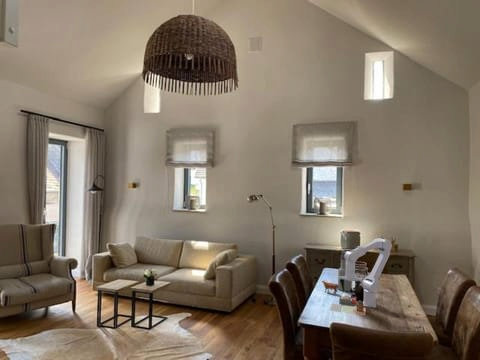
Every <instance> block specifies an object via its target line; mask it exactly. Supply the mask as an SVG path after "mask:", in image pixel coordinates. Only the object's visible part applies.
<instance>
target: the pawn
mask: <svg viewBox="0 0 480 360" xmlns="http://www.w3.org/2000/svg"><path fill="white" fill-rule="evenodd" d="M356 307H357V311H358V312H363V309H364V308H365V306H364V304H363V301H362V300H358V301H357V306H356Z"/></svg>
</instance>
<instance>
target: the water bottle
mask: <svg viewBox="0 0 480 360" xmlns="http://www.w3.org/2000/svg"><path fill="white" fill-rule="evenodd" d="M346 252H347V250H344V251H343V250H342V251H341V253H340V254H341V255H340V267H339V268H338V271H337V272H338V273H337V274H338V276H346V260H345V258H344V255H345V253H346ZM338 276H337V277H338ZM337 285H338V287H339V288H337V289H338V291H341V292H343V289H342V285H341V283H340V280H338V279H337ZM351 289H352V290H353V281H348V280H344V292H346V291H348V292H351V291H352V290H351ZM350 290H351V291H350Z"/></svg>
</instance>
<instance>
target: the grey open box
mask: <svg viewBox="0 0 480 360" xmlns="http://www.w3.org/2000/svg"><path fill="white" fill-rule="evenodd" d="M341 297H342V295H340V296H339V302H338V303H339V305H346V306H354V307H357V303H358V301H357V298H355V297H351V296H349V300H348V299H341Z"/></svg>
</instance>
